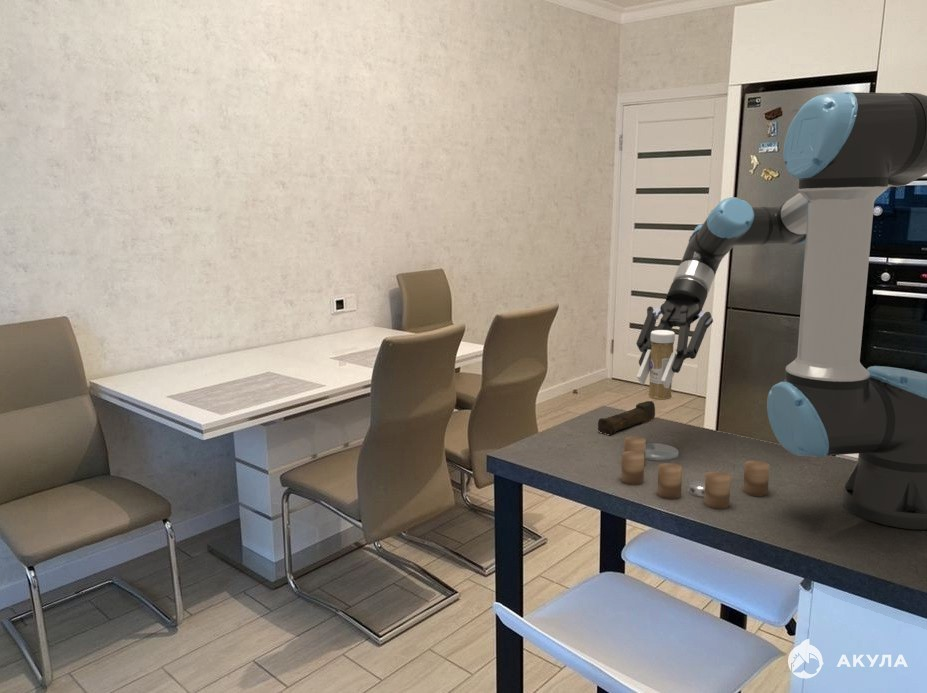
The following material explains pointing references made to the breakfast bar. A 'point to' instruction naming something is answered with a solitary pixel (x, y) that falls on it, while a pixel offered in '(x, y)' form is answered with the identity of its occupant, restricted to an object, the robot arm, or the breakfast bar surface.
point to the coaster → (660, 452)
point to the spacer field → (672, 476)
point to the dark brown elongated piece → (627, 418)
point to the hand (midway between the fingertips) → (652, 382)
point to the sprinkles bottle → (660, 363)
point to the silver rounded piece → (697, 488)
